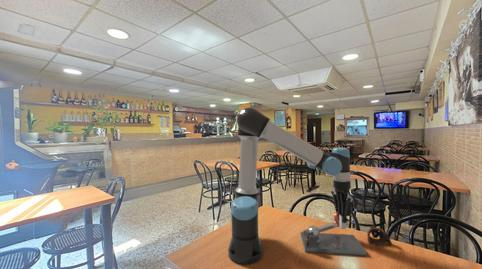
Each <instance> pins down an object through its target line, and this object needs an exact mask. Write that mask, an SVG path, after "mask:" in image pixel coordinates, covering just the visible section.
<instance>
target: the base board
mask: <svg viewBox="0 0 482 269" xmlns="http://www.w3.org/2000/svg"><path fill="white" fill-rule="evenodd" d="M300 238H301V241H302V245H303V246H302V247H303V249H304V252H305V253H314V254H329V255H344V256H345V255H346V256H357V257H358V256H362V257H367V250H365V248H364V246H363V245H362V244H361V242H360V241H359V240H358V239H357V238H356V237H355V235H354V234H345V233H343V234H342V233H326V232H320V233H319V240H318V241H317V236H316V235H309V243H307V242H306V236H304V235H303V231H300Z"/></svg>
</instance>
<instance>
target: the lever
mask: <svg viewBox="0 0 482 269" xmlns="http://www.w3.org/2000/svg"><path fill="white" fill-rule="evenodd" d="M335 228H340V223H339V214H338V212H336V211H334V213H333V222H330V223H327V224H323V225H321V226H314V225H310V226H308V229H304V230H302V232H303V235H304V236H306V237H309V235H316V236H317V241H318V240H319V233H324V232H327V231H329V230H332V229H335Z"/></svg>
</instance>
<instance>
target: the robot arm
mask: <svg viewBox="0 0 482 269" xmlns="http://www.w3.org/2000/svg"><path fill="white" fill-rule="evenodd" d="M236 123H237V127H238V131H237V137H238V138H239V139H240V150H239V152H240V153H239V171H238V173H239V174H238V177H239V178H238V186H237V188H235V196H234V199H233V200H232V202H231V205H230V206H231V207H230V211H231V212H230V213H231V238H230V242H229V245H228V250H227V254H228V257H229V259H230V260H231V261H232V260H233V261H232V262H234V263H236V264H239V265H250V264H254V263H257V262H259V261H260V260H261V259H262V257H263V256H264V252H263V250H264V248H263V246H262V243H261V239H260V237H259V189H258V188H257V168H258V167H257V166H258V164H257V163H258V146H259V139H265V140H267V141H269V143H272V144H274V145H276V146H277V147H279V148H280V149H283V150H284V151H286V152H288V153H290V154H292V155H293V156H294V157H297V158H298V159H300V160H302V161H304V162H305V163H307V167H308V168H309V169H314V170H316V169H318V170H319V171H321V172H323V173H324V174H325V175H328V176H332V177H333V178H332V179H333V180H332V184H333V186H332V187H333V188H334V190H332V191H331V195H332V200H333V206H334V210H335V211H334V212H338V214H339V223H340V227H339V229H341V230H345V229H347V223H348V218H347V217H351V214H352V207H353V202H354V201H355V197H352V196H351V194H350V190H351V188H352V187H351V155H350V153H351V152H350V150H349V149H348V148H346V147H334V148H332V150H331V152H325V151H323V150H321V149H319V147H316V146H315V145H313V144H311V143H309V142H307V141H306V140H304V139H302V138H300V137H299V136H297V135H295V134H293V133H292V132H289V131H288V130H286V129H285V128H282V127H280V126H279V125H277V124H276V123H273V122H272V120H271V118H269V117H268V116H266V115H264V114H263V113H261V111H259V110H257V108H254V107H249V106H248V107H244V108H243V109H241V110H240V111H239V112H238V114H237V117H236Z"/></svg>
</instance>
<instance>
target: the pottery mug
mask: <svg viewBox="0 0 482 269" xmlns="http://www.w3.org/2000/svg"><path fill="white" fill-rule="evenodd" d="M369 228H370V229H369V230H368V231H367V242H368V244H369V245H370V244H371V245H374V246H380V245H386V246H388V245H387V244H389V245H390V246H391V247H392V245H393V244H392V243H393V242H392V241H391V238H390V236H389V234H388V233H387V232H386V231H385V230H383V229H382V228H379V227H376V226H374V225H371V226H370V227H369ZM371 234H372V236H370V235H371ZM378 237H379V238H378Z"/></svg>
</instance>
